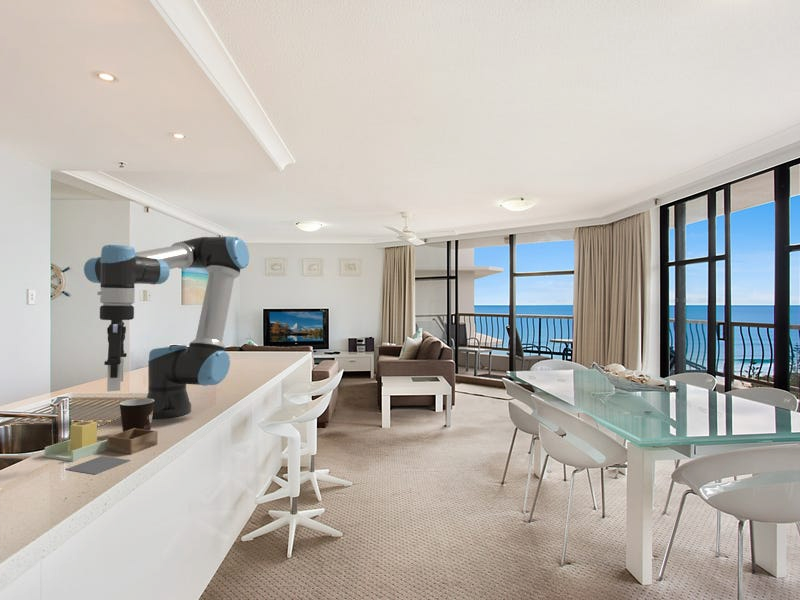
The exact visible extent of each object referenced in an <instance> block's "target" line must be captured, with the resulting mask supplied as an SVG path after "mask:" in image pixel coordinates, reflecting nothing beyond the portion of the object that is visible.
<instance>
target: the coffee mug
mask: <svg viewBox="0 0 800 600" xmlns="http://www.w3.org/2000/svg"><path fill="white" fill-rule="evenodd" d="M154 401H155V400H154V399H146V398H133V399H132V398H131V399H126V400H123V401H120V402H119V411H120V419H121V420H120V421H121V427H122V432H124V431H127V430H130V429H133V428H136V429H145V430H151V427H152V422H153V418H152V415H153V408H154Z"/></svg>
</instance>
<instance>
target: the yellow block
mask: <svg viewBox="0 0 800 600" xmlns="http://www.w3.org/2000/svg"><path fill="white" fill-rule="evenodd" d="M69 440H70V453H71V451H73V450H76V449H79V448H82V447H85V446H88V445H91V444H95V443H97V440H98V422H97V421H96V422H95V421H90V420H89V421H88V420H84V421H80V422H76V423H73V424H70V426H69Z"/></svg>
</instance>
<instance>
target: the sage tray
mask: <svg viewBox="0 0 800 600" xmlns="http://www.w3.org/2000/svg"><path fill="white" fill-rule="evenodd" d="M105 451H107V439H104V440H99V439H97V443H95V444H91V445H88V446H85V447H82V448H79V449H76V450H73V451H71V453H70V439H67V440H64V441H61V442H57V443H53V444H52V445H51V444H50V445H48V446H45V447H44V458H48V459H53V460H60V461H66V462H72V463H73V462H77V461H79V460H82V459H85V458H88V457H90V456H93V455H95V454H99V453H102V452H105Z"/></svg>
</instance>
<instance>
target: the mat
mask: <svg viewBox="0 0 800 600" xmlns="http://www.w3.org/2000/svg"><path fill="white" fill-rule="evenodd" d="M129 462H131V459H124V458H119V457H118V458H117V457H111V456H104V455H100V456H98V457H95V458H92V459H90V460H88V461H85V462H81V463H79V464H76V465H72V466H70V467H68V468H65V471H70V472H76V473H82V474H88V475H94V476H95V475H99V474H100V473H103V472H106V471H108V470H111V469H114V468H116V467H119V466H122V465H123V464H126V463H129Z"/></svg>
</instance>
